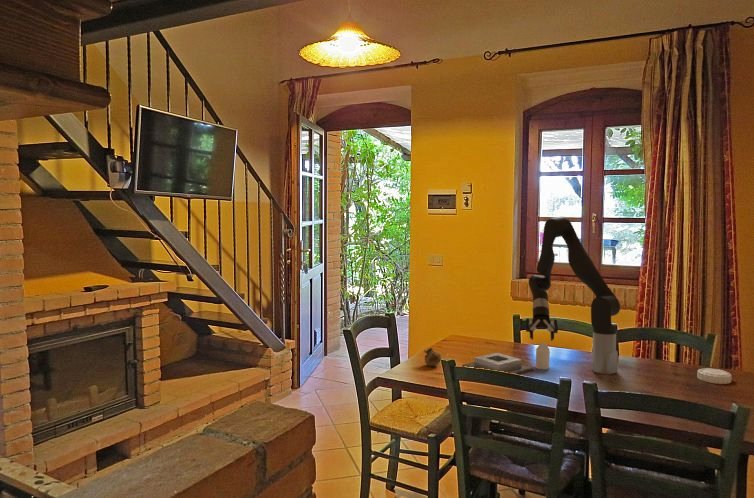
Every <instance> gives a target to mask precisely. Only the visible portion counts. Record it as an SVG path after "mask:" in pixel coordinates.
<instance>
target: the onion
mask: <svg viewBox="0 0 754 498" xmlns="http://www.w3.org/2000/svg"><path fill="white" fill-rule="evenodd" d="M423 352H424V353H425V354H426V355H424V363H425V364H426V365H427V366H428V367H436V366H438V365H439V363H440V362H441V361H442V356H441V354H439V353H438V352H437V351H435V350H433V348H432V347H430V348H428V349H426V348H425V349H423Z"/></svg>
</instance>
